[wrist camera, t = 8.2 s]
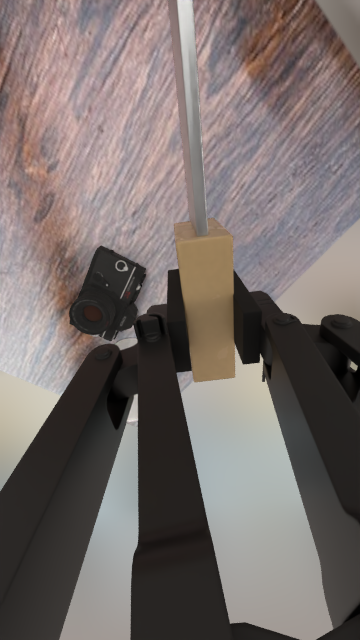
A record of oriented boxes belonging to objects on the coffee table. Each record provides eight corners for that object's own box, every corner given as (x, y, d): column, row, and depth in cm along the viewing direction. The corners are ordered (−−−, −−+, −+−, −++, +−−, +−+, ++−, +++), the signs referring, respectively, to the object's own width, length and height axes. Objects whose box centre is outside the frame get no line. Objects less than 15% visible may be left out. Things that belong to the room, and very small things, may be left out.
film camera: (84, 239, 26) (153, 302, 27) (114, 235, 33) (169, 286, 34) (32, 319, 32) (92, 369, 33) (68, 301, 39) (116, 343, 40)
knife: (220, 331, 18) (235, 378, 14) (188, 334, 18) (194, 383, 14) (194, -159, 8) (222, -522, 4) (125, -146, 8) (78, -488, 4)
